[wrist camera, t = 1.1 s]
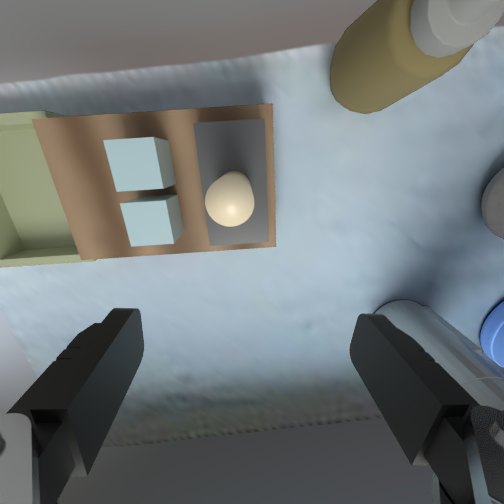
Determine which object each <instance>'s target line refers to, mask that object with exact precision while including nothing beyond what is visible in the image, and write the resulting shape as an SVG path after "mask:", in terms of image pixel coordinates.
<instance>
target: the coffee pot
mask: <svg viewBox="0 0 504 504" xmlns="http://www.w3.org/2000/svg"><path fill="white" fill-rule="evenodd" d="M481 209H482V217H483V220H484V222H485V225H486V226H487V227H488V228H489V229H490V230H491V231H492V232H493V233H494V234H495V235H497V236H499V237H501V238H503V239H504V167H503V168H502V169H501V170H500V171H499V172H498V173H497V174H496V175H495V176H494V177H493V178H492V179H491V180H490V182H489V183H488V184H487V186H486V188H485V190H484V192H483V195H482V200H481Z"/></svg>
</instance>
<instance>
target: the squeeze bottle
mask: <svg viewBox="0 0 504 504" xmlns="http://www.w3.org/2000/svg"><path fill="white" fill-rule="evenodd" d="M503 12H504V0H378V1H376V2H375V3H374V4H373V5H372V6H371V7H370V8H369V9H368V10H366V11H365V12H364V13H363V14H362V15H361V16H360V17H359V18H358V19H357V20H356V21H354V22H353V23H352V24H351V25H350V26H349V27H348V28H347V29H346V30H345V32H344V34H343V35H342V37H341V39H340V40H339V42H338V43H337V45H336V47H335V51H334V55H333V59H332V63H331V67H330V86H331V92H332V94H333V96H334V98H335V100H336V101H337V102H339V103H340V104H341V105H342V106H343V107H345V108H347V109H349V110H350V111H354V112H358V113H363V114H368V113H372V112H377V111H381V110H383V109H384V108H386V107H388V106H390V105H391V104H393V103H395V102H397V101H398V100H400V99H402V98H403V97H405V96H407V95H409V94H410V93H412V92H414V91H416V90H417V89H419V88H421V87H423V86H424V85H426V84H428V83H430V82H431V81H433V80H435V79H437V78H438V77H440V76H442V75H443V74H444V73H446V72H447V71H449V70H450V69H452V68H453V67H454V66H456V65H457V64H459V62H460V61H461V60H462V59H463V57H464V56H465V55H466V53H467V52H468V51H469V50H470V48H471V47H472V46H473V44H474V43H475V42H477V41H478V40H480V39H481V38H482V37H484V36H485V35H487V34H488V33H489V32H490V31H491V29H492V28H493V27H494V25H495V24H496V23H497V22H498V20H499V19H500V18H501V16H502V14H503Z"/></svg>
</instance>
